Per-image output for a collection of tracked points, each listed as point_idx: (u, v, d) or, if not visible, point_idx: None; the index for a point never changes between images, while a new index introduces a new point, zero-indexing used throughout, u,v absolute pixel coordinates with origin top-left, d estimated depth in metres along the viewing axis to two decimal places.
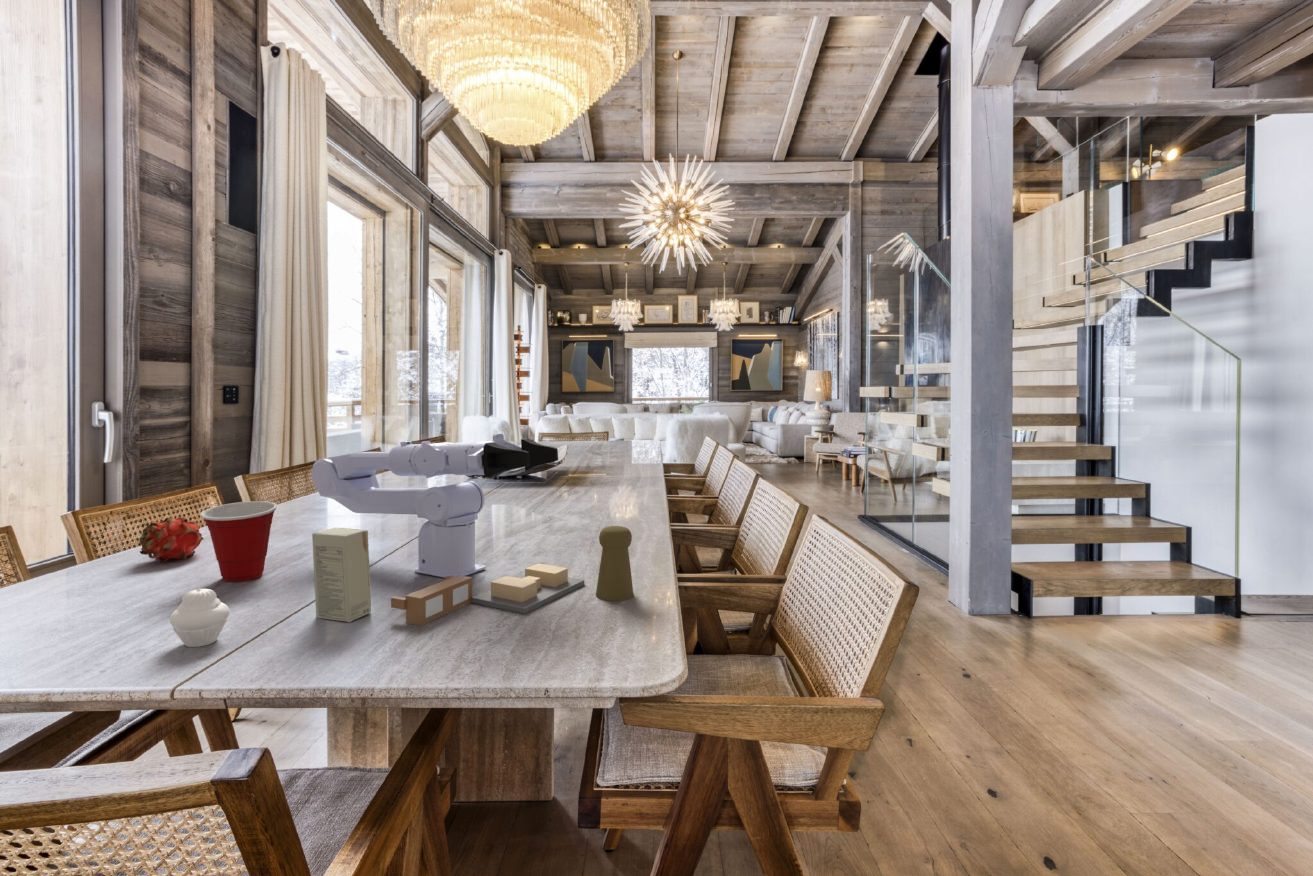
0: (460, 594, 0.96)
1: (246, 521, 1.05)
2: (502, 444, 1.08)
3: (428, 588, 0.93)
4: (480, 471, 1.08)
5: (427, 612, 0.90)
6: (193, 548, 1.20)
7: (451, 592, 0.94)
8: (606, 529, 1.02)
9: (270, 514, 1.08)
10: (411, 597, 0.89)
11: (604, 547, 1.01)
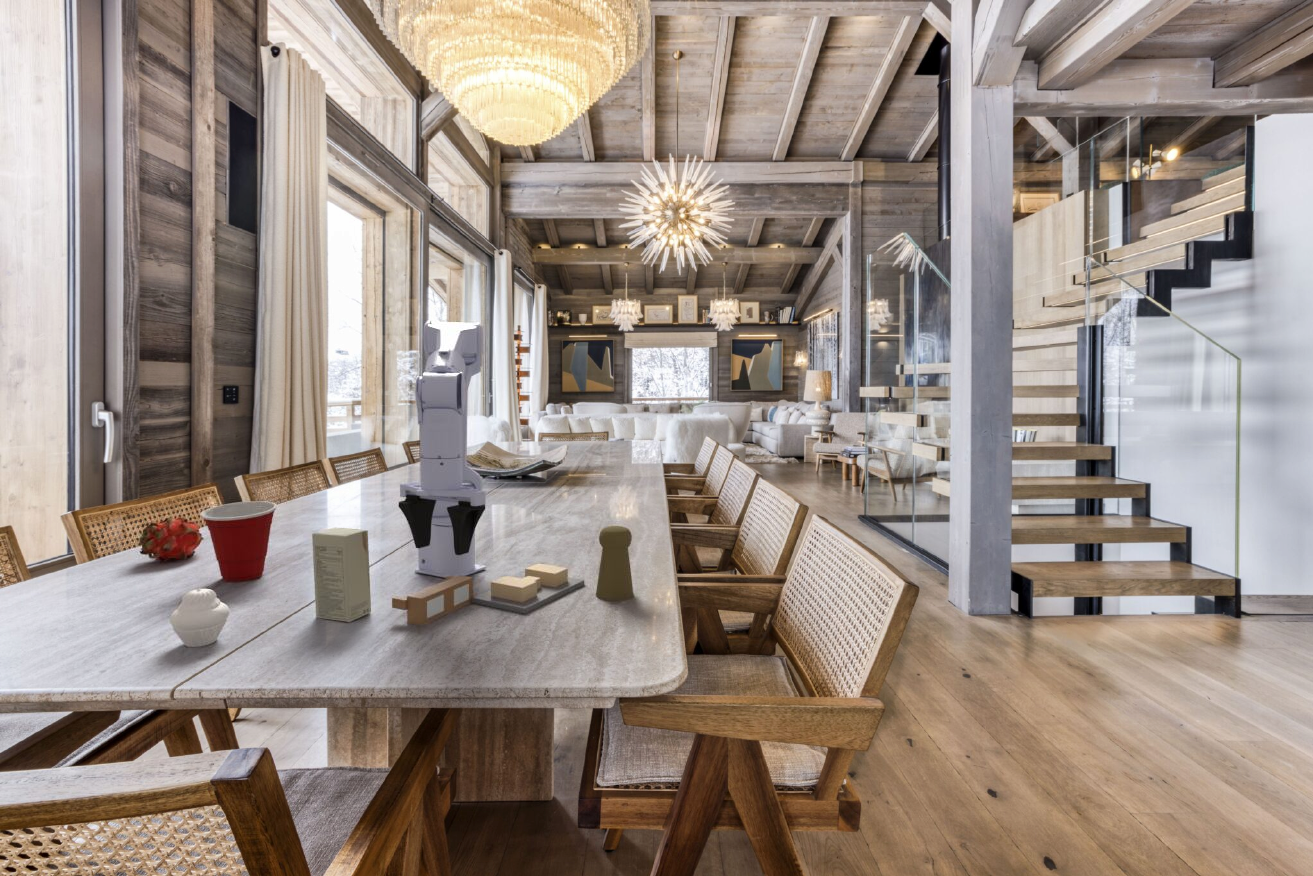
0: (461, 594, 0.96)
1: (246, 521, 1.05)
2: None
3: (429, 588, 0.93)
4: None
5: (428, 612, 0.90)
6: (193, 548, 1.20)
7: (452, 592, 0.94)
8: (606, 529, 1.02)
9: (270, 514, 1.08)
10: (412, 597, 0.89)
11: (604, 547, 1.01)
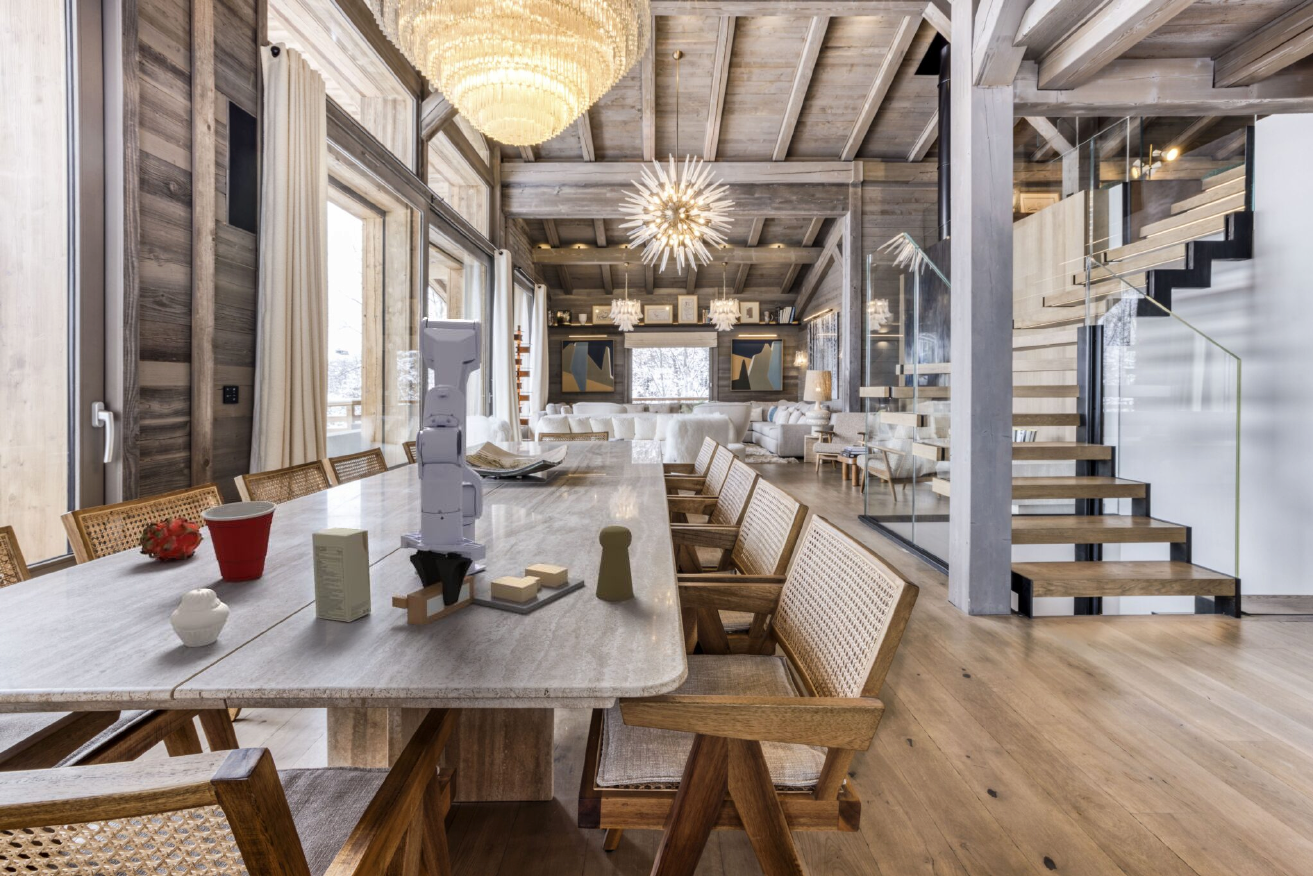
0: (461, 593, 0.96)
1: (246, 521, 1.05)
2: None
3: (429, 587, 0.93)
4: None
5: (428, 611, 0.90)
6: (193, 548, 1.20)
7: None
8: (606, 529, 1.02)
9: (270, 514, 1.08)
10: (412, 596, 0.89)
11: (604, 547, 1.01)
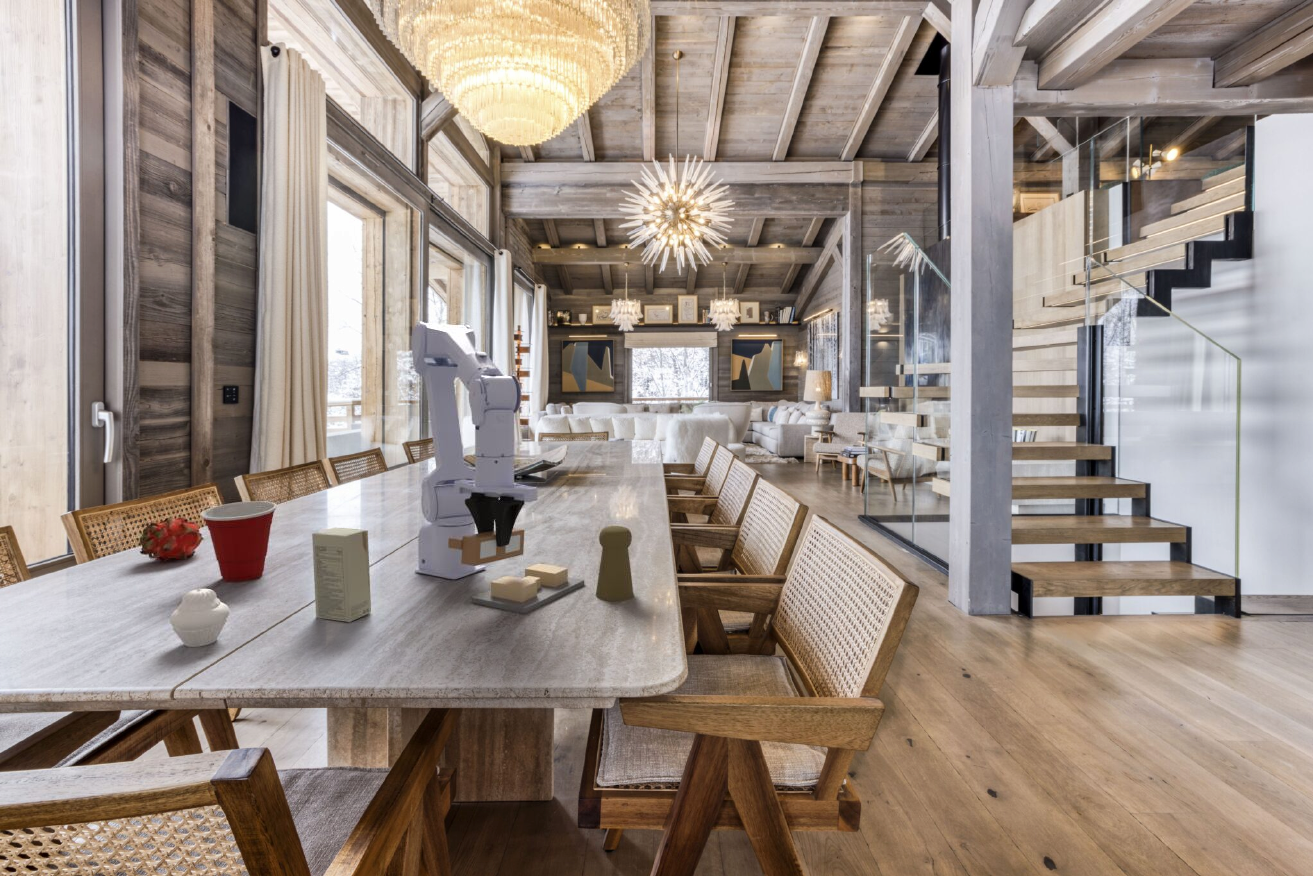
0: (512, 543, 1.00)
1: (246, 521, 1.05)
2: None
3: (483, 533, 0.97)
4: None
5: (481, 553, 0.94)
6: (193, 548, 1.20)
7: None
8: (606, 529, 1.02)
9: (270, 514, 1.08)
10: (467, 537, 0.94)
11: (604, 547, 1.01)
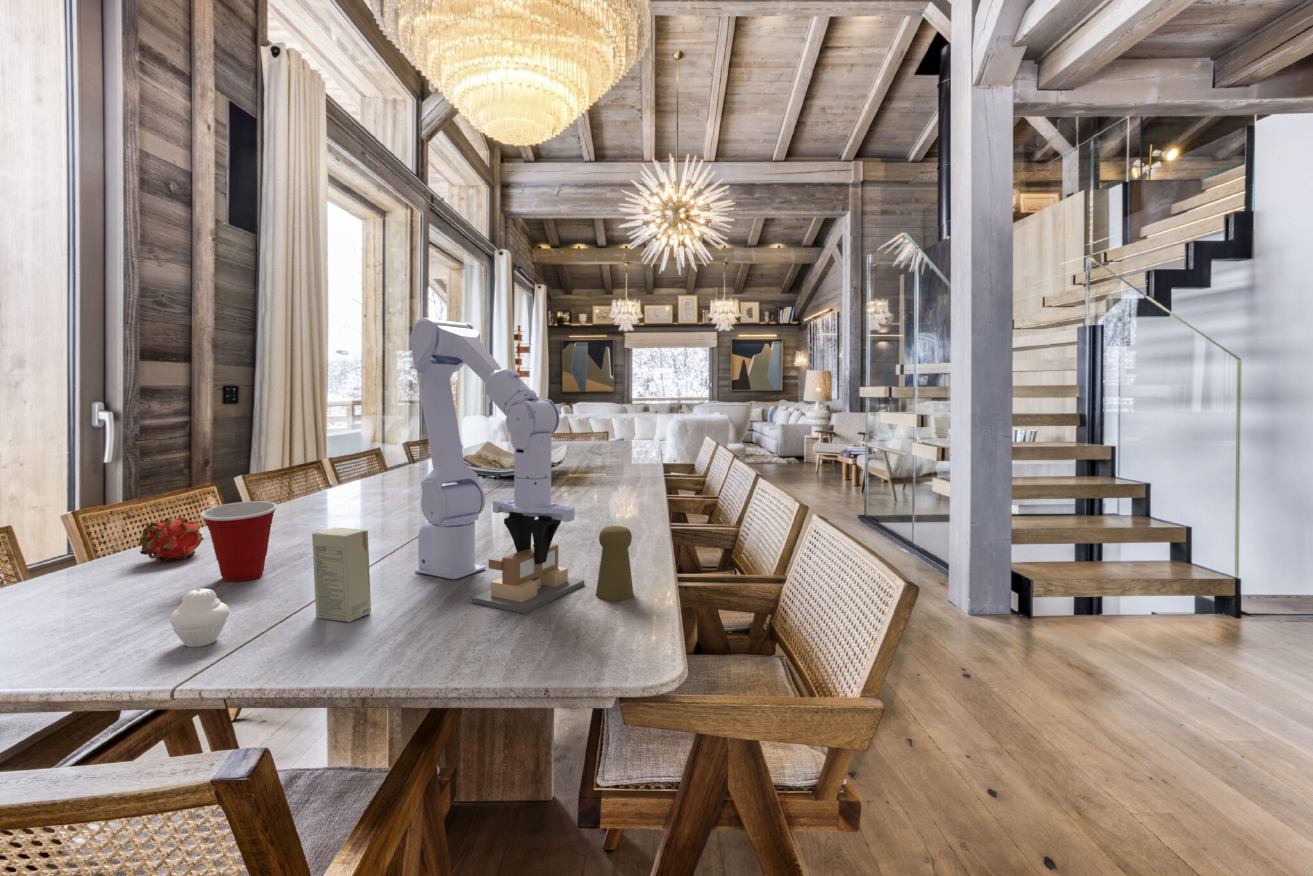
0: (548, 559, 1.04)
1: (246, 521, 1.05)
2: None
3: (521, 552, 1.01)
4: None
5: (521, 573, 0.98)
6: (193, 548, 1.20)
7: None
8: (606, 529, 1.02)
9: (270, 514, 1.08)
10: (507, 559, 0.98)
11: (604, 547, 1.01)
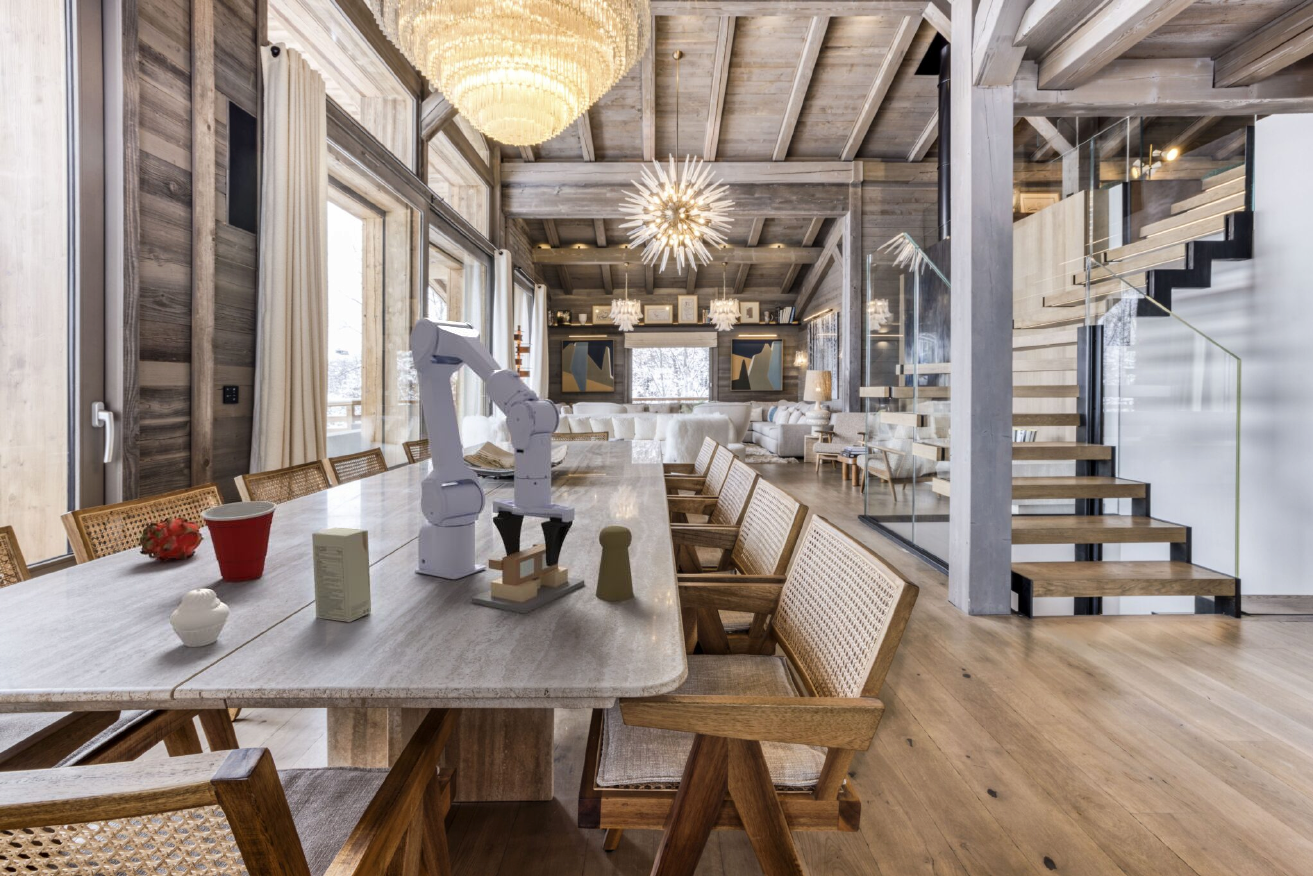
0: None
1: (246, 521, 1.05)
2: None
3: (521, 552, 1.01)
4: None
5: (521, 573, 0.98)
6: (193, 548, 1.20)
7: (541, 557, 1.03)
8: (606, 529, 1.02)
9: (270, 514, 1.08)
10: (507, 559, 0.98)
11: (604, 547, 1.01)
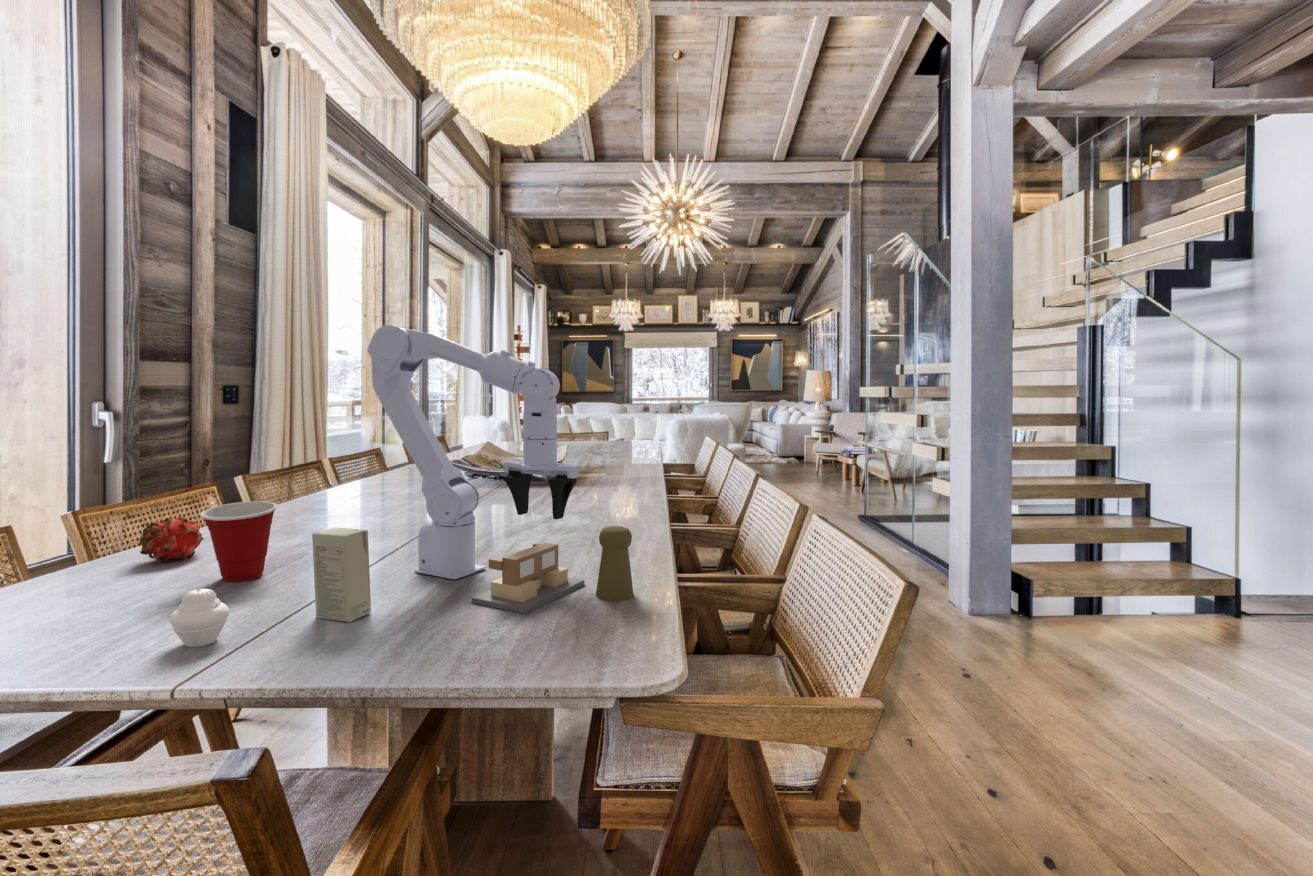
0: (548, 559, 1.04)
1: (246, 521, 1.05)
2: None
3: (521, 552, 1.01)
4: None
5: (521, 573, 0.98)
6: (193, 548, 1.20)
7: (541, 557, 1.03)
8: (606, 529, 1.02)
9: (270, 514, 1.08)
10: (507, 559, 0.98)
11: (604, 547, 1.01)
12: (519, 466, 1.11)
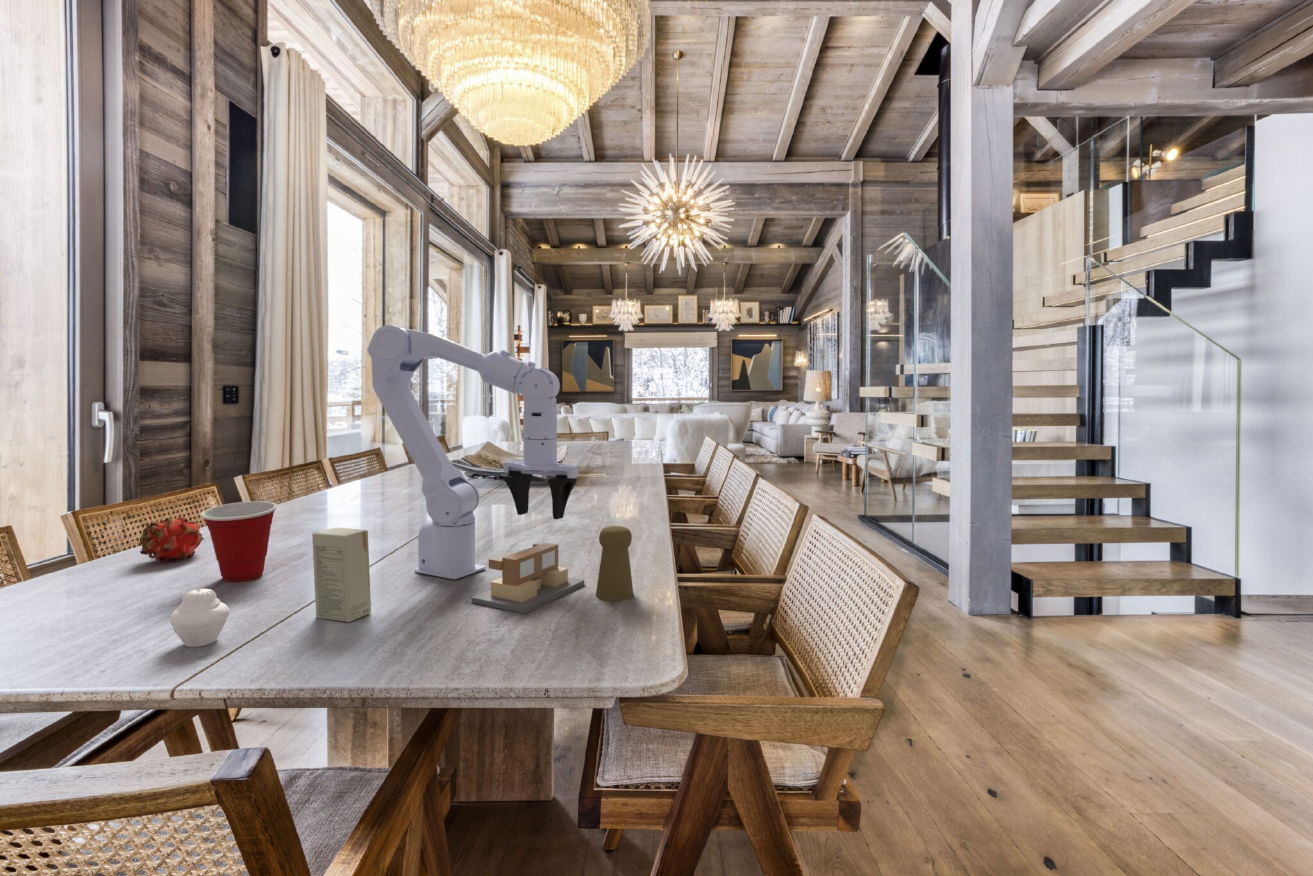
0: (548, 559, 1.04)
1: (246, 521, 1.05)
2: None
3: (521, 552, 1.01)
4: None
5: (521, 573, 0.98)
6: (193, 548, 1.20)
7: (541, 557, 1.03)
8: (606, 529, 1.02)
9: (270, 514, 1.08)
10: (507, 559, 0.98)
11: (604, 547, 1.01)
12: (519, 466, 1.11)
